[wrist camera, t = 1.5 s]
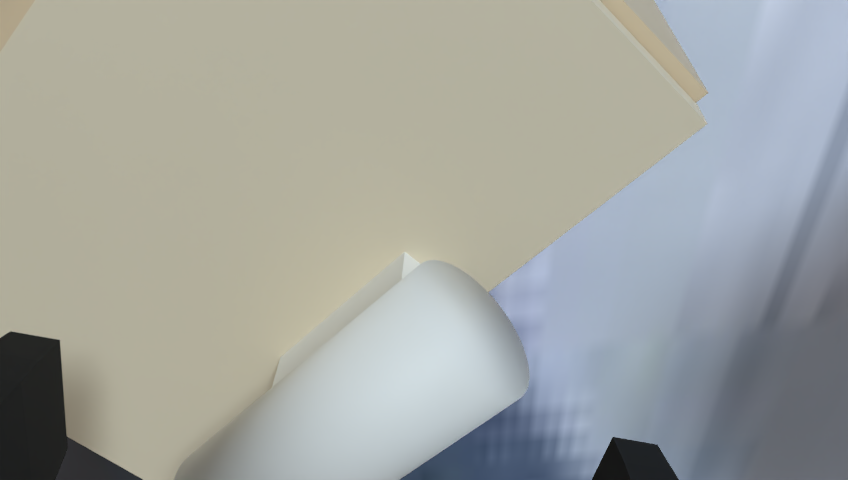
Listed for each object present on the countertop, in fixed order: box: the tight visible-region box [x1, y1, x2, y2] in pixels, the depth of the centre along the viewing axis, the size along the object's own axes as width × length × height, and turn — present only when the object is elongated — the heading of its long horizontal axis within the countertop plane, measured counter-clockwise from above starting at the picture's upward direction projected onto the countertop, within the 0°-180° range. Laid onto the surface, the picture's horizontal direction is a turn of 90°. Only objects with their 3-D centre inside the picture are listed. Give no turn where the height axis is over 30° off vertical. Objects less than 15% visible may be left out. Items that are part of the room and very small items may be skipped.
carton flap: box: [0, 0, 707, 480], centre depth 11 cm, size 7×12×4 cm, turn 137°
